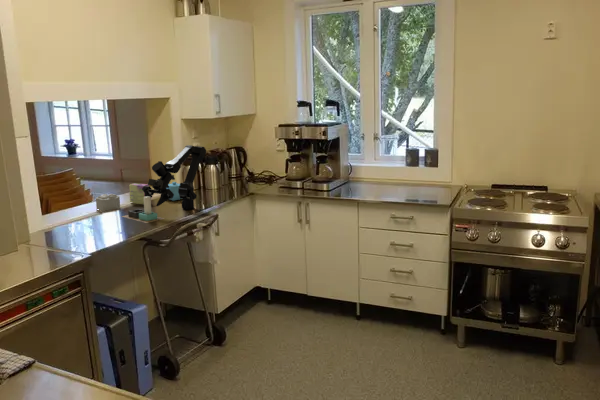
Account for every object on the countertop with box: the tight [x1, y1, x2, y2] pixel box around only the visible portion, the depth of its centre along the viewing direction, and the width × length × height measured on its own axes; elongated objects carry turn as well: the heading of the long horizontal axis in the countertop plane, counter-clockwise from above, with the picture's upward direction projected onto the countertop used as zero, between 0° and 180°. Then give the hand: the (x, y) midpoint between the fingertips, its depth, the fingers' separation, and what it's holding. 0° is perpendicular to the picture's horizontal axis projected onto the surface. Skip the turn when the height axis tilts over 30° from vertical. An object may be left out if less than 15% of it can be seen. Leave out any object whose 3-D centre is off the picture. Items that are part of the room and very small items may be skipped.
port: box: [139, 211, 158, 221], centre depth 276 cm, size 7×7×3 cm
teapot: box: [166, 181, 182, 202], centre depth 330 cm, size 12×18×12 cm
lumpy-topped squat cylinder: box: [95, 193, 121, 213], centre depth 301 cm, size 10×13×9 cm
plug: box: [143, 196, 152, 215], centre depth 275 cm, size 4×4×12 cm
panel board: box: [120, 208, 165, 224], centre depth 279 cm, size 22×12×4 cm, turn 54°
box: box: [128, 182, 150, 205], centre depth 317 cm, size 10×6×12 cm, turn 74°
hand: (150, 204), depth 277 cm, fingers open, 9 cm apart
